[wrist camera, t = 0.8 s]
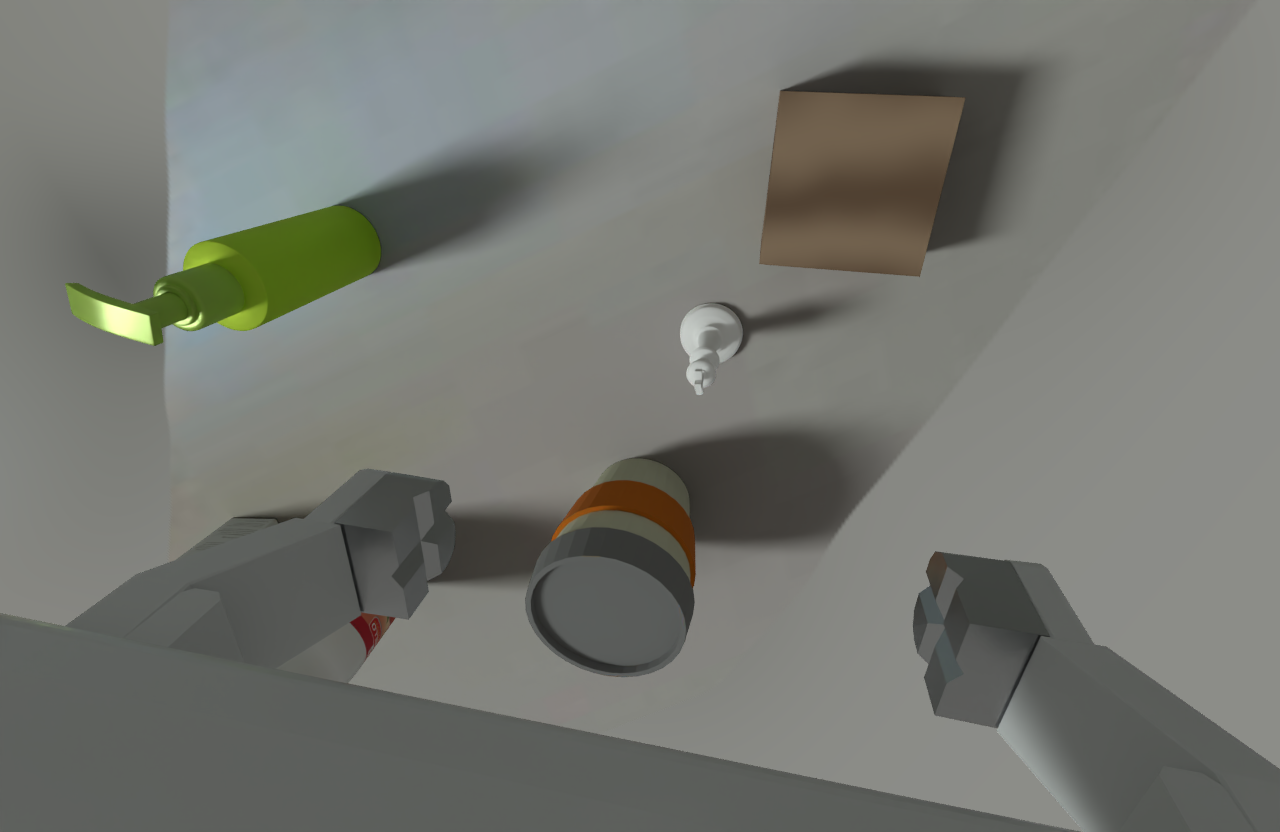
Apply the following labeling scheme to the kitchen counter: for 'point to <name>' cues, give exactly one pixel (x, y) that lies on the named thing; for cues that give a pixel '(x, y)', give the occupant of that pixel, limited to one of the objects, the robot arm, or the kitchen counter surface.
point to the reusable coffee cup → (619, 574)
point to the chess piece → (709, 341)
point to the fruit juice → (341, 650)
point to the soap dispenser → (244, 277)
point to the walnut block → (857, 180)
